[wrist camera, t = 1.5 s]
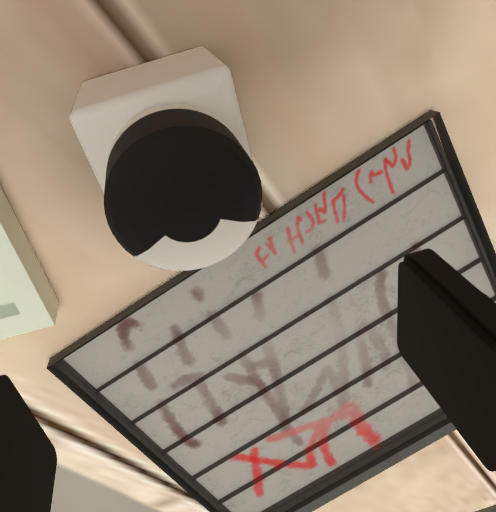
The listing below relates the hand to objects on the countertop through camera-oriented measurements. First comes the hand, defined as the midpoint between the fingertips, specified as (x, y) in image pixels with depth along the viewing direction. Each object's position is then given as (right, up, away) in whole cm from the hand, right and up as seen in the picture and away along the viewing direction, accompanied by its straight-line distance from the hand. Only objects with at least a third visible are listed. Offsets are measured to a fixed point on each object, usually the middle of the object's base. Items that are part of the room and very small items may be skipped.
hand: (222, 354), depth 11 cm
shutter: (+7, -7, +30) cm, 32 cm away
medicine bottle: (-4, +10, +16) cm, 20 cm away
